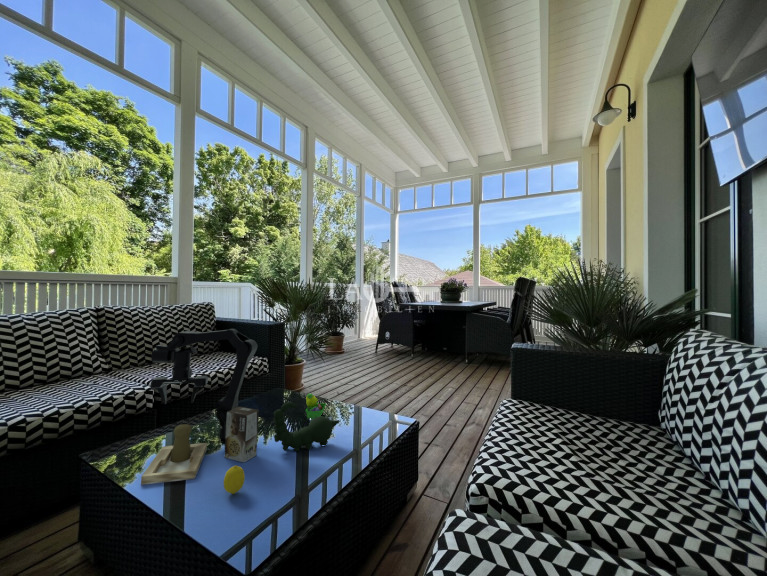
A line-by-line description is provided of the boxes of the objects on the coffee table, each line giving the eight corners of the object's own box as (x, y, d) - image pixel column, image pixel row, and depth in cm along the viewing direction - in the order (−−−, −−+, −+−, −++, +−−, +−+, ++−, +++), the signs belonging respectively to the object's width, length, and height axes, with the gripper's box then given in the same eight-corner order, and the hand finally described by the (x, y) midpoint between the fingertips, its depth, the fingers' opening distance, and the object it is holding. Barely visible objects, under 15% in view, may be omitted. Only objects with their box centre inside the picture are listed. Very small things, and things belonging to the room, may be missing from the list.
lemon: (227, 488, 96) (229, 460, 97) (246, 488, 97) (248, 461, 97) (219, 499, 91) (221, 470, 91) (239, 499, 91) (241, 470, 91)
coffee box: (257, 455, 117) (260, 409, 118) (244, 463, 111) (247, 415, 111) (236, 450, 120) (240, 405, 121) (223, 457, 114) (226, 411, 114)
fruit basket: (320, 422, 151) (322, 397, 151) (301, 421, 151) (303, 396, 151) (325, 413, 162) (327, 390, 162) (308, 412, 162) (309, 389, 163)
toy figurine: (275, 462, 116) (343, 446, 126) (274, 409, 116) (342, 397, 126) (273, 450, 125) (337, 436, 134) (272, 401, 125) (335, 391, 135)
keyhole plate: (206, 449, 119) (207, 442, 119) (194, 478, 100) (195, 470, 100) (162, 453, 115) (162, 446, 115) (140, 484, 96) (141, 476, 96)
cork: (181, 463, 108) (183, 430, 108) (165, 460, 109) (168, 427, 109) (195, 455, 114) (197, 423, 114) (180, 452, 115) (182, 421, 115)
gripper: (211, 359, 140) (208, 396, 139) (160, 359, 134) (157, 398, 133) (206, 364, 129) (203, 404, 129) (151, 365, 123) (148, 407, 122)
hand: (178, 403), depth 128 cm, fingers open, 9 cm apart
